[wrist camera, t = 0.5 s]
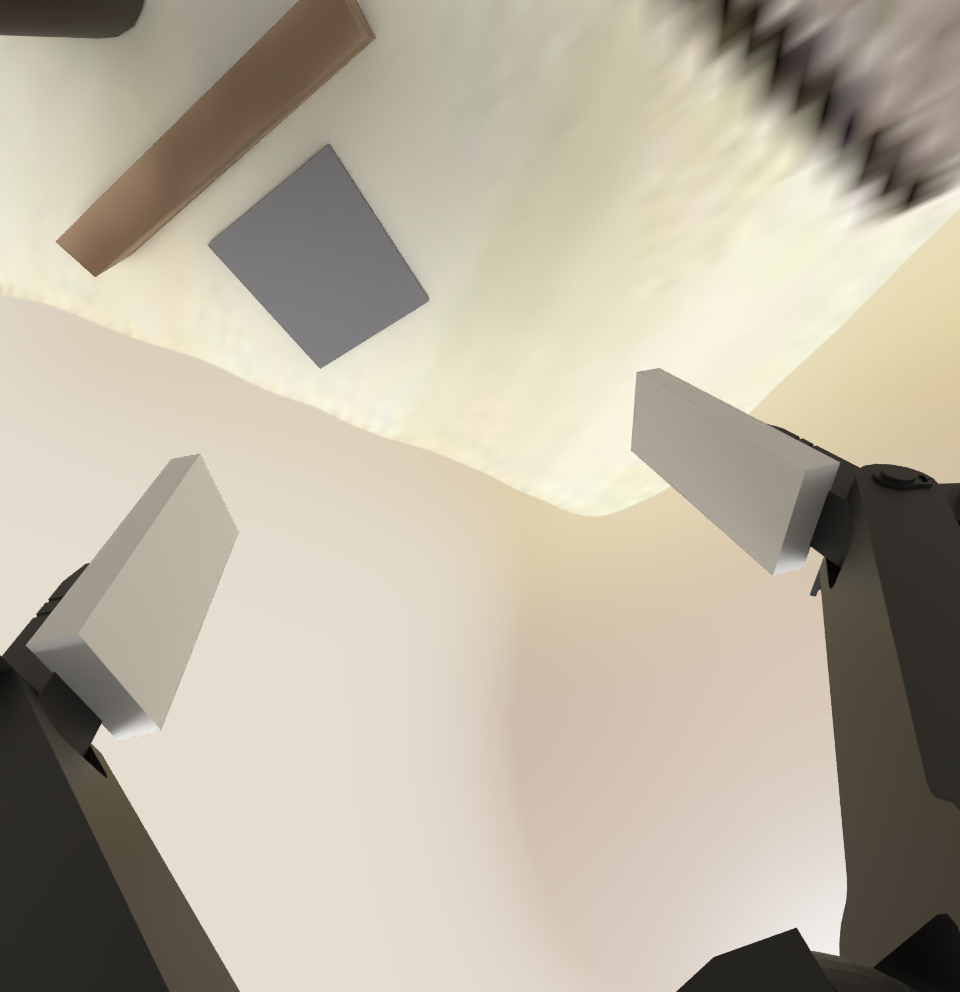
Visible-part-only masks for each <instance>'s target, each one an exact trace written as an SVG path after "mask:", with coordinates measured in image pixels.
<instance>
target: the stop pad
mask: <svg viewBox="0 0 960 992" xmlns="http://www.w3.org/2000/svg"><path fill="white" fill-rule="evenodd" d="M208 246H209V247H210V248H211V249H212V251H213V252H214V253H215V254H216V255H217V256H218V257H219V258H220V259H221V260H222V262H223V263H224V264H225V265H226V266H227V267H228V268H229V269H230V270H231V271H232V272H233V274H234V275H235V276H236V277H237V278H238V279H239V280H240V281H241V282H242V283H243V285H244V286H245V287H246V288H247V289H248V290H249V291H250V292H251V293H252V294H253V296H254V297H255V298H256V299H257V300H258V301H259V302H260V303H261V304H262V305H263V307H264V308H265V309H266V310H267V311H268V312H269V313H270V314H271V315H272V316H273V318H274V319H275V320H276V321H277V322H278V323H279V324H280V325H281V326H282V327H283V329H284V330H285V331H286V332H287V333H288V334H289V335H290V336H291V337H292V338H293V340H294V341H295V342H296V343H297V344H298V345H299V346H300V347H301V348H302V349H303V350H304V352H305V353H306V354H307V355H308V356H309V357H310V358H311V359H312V360H313V361H314V363H315V364H316V365H317V366H318V367H319V368H320V369H321V368H322V367H324V366H325V365H327V364H329V363H330V362H332V361H333V360H335V359H337V358H338V357H340V356H341V355H343V354H345V353H346V352H348V351H349V350H351V349H353V348H354V347H356V346H358V345H359V344H361V343H362V342H364V341H366V340H367V339H369V338H370V337H372V336H374V335H375V334H377V333H378V332H380V331H382V330H383V329H385V328H386V327H388V326H390V325H391V324H393V323H394V322H396V321H398V320H399V319H401V318H402V317H404V316H406V315H407V314H409V313H411V312H412V311H414V310H415V309H417V308H419V307H420V306H422V305H423V304H425V303H427V302H428V301H429V297H428V296H427V294H426V293H425V291H424V289H423V288H422V286H421V285H420V283H419V282H418V280H417V279H416V277H415V276H414V274H413V272H412V271H411V269H410V268H409V266H408V265H407V263H406V262H405V260H404V259H403V257H402V256H401V254H400V252H399V251H398V249H397V248H396V246H395V245H394V243H393V242H392V240H391V239H390V237H389V235H388V234H387V232H386V231H385V229H384V228H383V226H382V225H381V223H380V222H379V220H378V218H377V217H376V215H375V214H374V212H373V211H372V209H371V208H370V206H369V205H368V203H367V201H366V200H365V198H364V197H363V195H362V194H361V192H360V191H359V189H358V188H357V186H356V184H355V183H354V181H353V180H352V178H351V177H350V175H349V174H348V172H347V171H346V169H345V167H344V166H343V164H342V163H341V161H340V160H339V158H338V157H337V155H336V154H335V152H334V151H333V149H332V147H331V146H330V144H329V145H328V146H327V147H325V148H324V149H323V150H322V151H321V152H319V153H318V154H317V155H316V156H315V157H313V158H312V159H311V160H310V161H309V162H307V163H306V164H305V165H304V166H302V167H301V168H300V169H299V170H298V171H296V172H295V173H294V174H293V175H292V176H290V177H289V178H288V179H287V180H286V181H284V182H283V183H282V184H281V185H279V186H278V187H277V188H276V189H275V190H273V191H272V192H271V193H270V194H269V195H267V196H266V197H265V198H264V199H263V200H261V201H260V202H259V203H258V204H257V205H255V206H254V207H253V208H252V209H250V210H249V211H248V212H247V213H246V214H244V215H243V216H242V217H241V218H240V219H238V220H237V221H236V222H235V223H234V224H232V225H231V226H230V227H229V228H227V229H226V230H225V231H224V232H223V233H221V234H220V235H219V236H218V237H217V238H215V239H214V240H213V241H212V242H211V243H209V244H208Z"/></svg>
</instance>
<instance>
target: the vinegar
mask: <svg viewBox="0 0 960 992" xmlns="http://www.w3.org/2000/svg"><path fill="white" fill-rule="evenodd" d="M141 8H142V0H0V35H13V36H42V37H72V38H107V37H117V36H119V35H120V34H122V33H123V32H124V31H126V30H127V29H129V28H130V27H131V26H133V24H134V22H135V20H136V18H137V16H138V14H139V12H140V10H141Z"/></svg>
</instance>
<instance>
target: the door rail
mask: <svg viewBox="0 0 960 992" xmlns="http://www.w3.org/2000/svg"><path fill="white" fill-rule="evenodd" d="M375 38H376V37H375V36H374V34H373V32H372V30H371V28H370V26H369V24H368V22H367V20H366V18H365V16H364V14H363V13H362V11H361V9H360V7H359V5H358V3H357V1H356V0H300V1H299V2H298V3H297V4H296V5H295V6H294V7H293V8H292V9H291V10H290V11H288V12H287V13H286V14H285V15H284V16H283V17H282V18H281V19H280V20H279V21H278V22H277V23H276V24H275V25H274V26H273V27H272V28H271V29H270V30H269V31H268V32H267V33H266V34H265V35H264V36H263V37H262V38H261V39H260V40H259V41H258V42H257V43H256V44H255V45H254V46H253V47H252V48H251V49H250V50H249V51H248V52H247V53H246V54H245V55H244V56H243V57H242V58H241V59H240V60H239V61H238V62H237V63H236V64H235V65H234V66H233V67H232V68H231V69H230V70H229V71H228V72H227V73H226V74H225V75H224V76H223V77H222V78H221V79H220V80H219V81H218V82H217V83H216V84H215V85H214V86H213V87H212V88H211V89H210V90H209V91H208V92H206V93H205V94H204V95H203V96H202V97H201V98H200V99H199V100H198V101H197V102H196V103H195V104H194V105H193V106H192V107H191V108H190V109H189V110H188V111H187V112H186V113H185V114H184V115H183V116H182V117H181V118H180V119H179V120H178V121H177V122H176V123H175V124H174V125H173V126H172V127H171V128H170V129H169V130H168V131H167V132H166V133H165V134H164V135H163V136H162V137H161V138H160V139H159V140H158V141H157V142H156V143H155V144H154V145H153V146H152V147H151V148H150V149H149V150H148V151H147V152H146V153H145V154H144V155H143V156H142V157H141V158H140V159H139V160H138V161H137V162H136V163H135V164H134V165H133V166H132V167H131V168H130V169H129V170H128V171H127V172H125V173H124V174H123V175H122V176H121V177H120V178H119V179H118V180H117V181H116V182H115V183H114V184H113V185H112V186H111V187H110V188H109V189H108V190H107V191H106V192H105V193H104V194H103V195H102V196H101V197H100V198H99V199H98V200H97V201H96V202H95V203H94V204H93V205H92V206H91V207H90V208H89V209H88V210H87V211H86V212H85V213H84V214H83V215H82V216H81V217H80V218H79V219H78V220H77V221H76V222H75V223H74V224H73V225H72V226H71V227H70V228H69V229H68V230H67V231H66V232H65V233H64V234H63V235H62V236H61V237H60V238H59V239H58V240H57V241H56V243H58V244H59V245H60V246H61V247H62V248H63V249H64V250H65V251H66V252H68V253H69V254H70V255H71V256H72V257H73V258H74V259H75V260H77V261H78V262H79V263H80V264H81V265H82V266H83V267H84V268H85V269H87V270H88V271H89V272H90V273H91V274H92V275H93V276H94V277H96V276H98V275H99V274H101V273H103V272H104V271H106V270H108V269H109V268H111V267H112V266H114V265H116V264H117V263H119V262H120V261H122V260H124V259H125V258H127V257H128V256H130V255H131V254H133V253H134V252H135V251H136V250H137V249H138V248H139V247H140V246H142V245H143V244H144V243H145V242H146V241H147V240H148V239H149V238H151V237H152V236H153V235H154V234H155V233H156V232H157V231H159V230H160V229H161V228H162V227H163V226H164V225H165V224H166V223H168V222H169V221H170V220H171V219H172V218H173V217H174V216H175V215H177V214H178V213H179V212H180V211H181V210H182V209H183V208H184V207H186V206H187V205H188V204H189V203H190V202H191V201H192V200H193V199H195V198H196V197H197V196H198V195H199V194H200V193H201V192H202V191H204V190H205V189H206V188H207V187H208V186H209V185H210V184H211V183H213V182H214V181H215V180H216V179H217V178H218V177H219V176H220V175H222V174H223V173H224V172H225V171H226V170H227V169H228V168H230V167H231V166H232V165H233V164H234V163H235V162H236V161H237V160H239V159H240V158H241V157H242V156H243V155H244V154H245V153H246V152H248V151H249V150H250V149H251V148H252V147H253V146H254V145H255V144H257V143H258V142H259V141H260V140H261V139H262V138H263V137H264V136H266V135H267V134H268V133H269V132H270V131H271V130H272V129H273V128H275V127H276V126H277V125H278V124H279V123H280V122H281V121H282V120H284V119H285V118H286V117H287V116H288V115H289V114H290V113H291V112H293V111H294V110H295V109H296V108H297V107H298V106H299V105H301V104H302V103H303V102H304V101H305V100H306V99H307V98H308V97H310V96H311V95H312V94H313V93H314V92H315V91H316V90H317V89H319V88H320V87H321V86H322V85H323V84H324V83H325V82H326V81H328V80H329V79H330V78H331V77H332V76H333V75H334V74H335V73H337V72H338V71H339V70H340V69H341V68H342V67H343V66H344V65H346V64H347V63H348V62H349V61H350V60H351V59H352V58H353V57H355V56H356V55H357V54H358V53H359V52H360V51H361V50H362V49H364V48H365V47H366V46H367V45H368V44H369V43H370V42H372V41H373V40H374V39H375Z"/></svg>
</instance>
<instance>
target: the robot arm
mask: <svg viewBox="0 0 960 992" xmlns="http://www.w3.org/2000/svg"><path fill="white" fill-rule="evenodd" d="M631 451H632V452H633V453H635V454H636V455H637V456H638V457H639V458H640V459H641V460H642V461H644V462H645V463H646V464H647V465H648V466H649V467H650V468H651V469H653V470H654V471H655V472H656V473H657V474H658V475H659V476H661V477H662V478H663V479H664V480H665V481H666V482H667V483H668V484H670V485H671V486H672V487H673V488H674V489H675V490H676V491H677V492H679V493H680V494H681V495H682V496H683V497H684V498H686V499H687V500H688V501H689V502H690V503H691V504H692V505H693V506H695V507H696V508H697V509H698V510H699V511H700V512H701V513H702V514H704V515H705V516H706V517H707V518H708V519H709V520H710V521H711V522H713V523H714V524H715V525H716V526H717V527H718V528H719V529H721V530H722V531H723V532H724V533H725V534H726V535H727V536H729V537H730V538H731V539H732V540H733V541H734V542H735V543H736V544H737V545H739V546H740V547H741V548H742V549H743V550H744V551H745V552H746V553H748V554H749V555H750V556H751V557H752V558H753V559H754V560H755V561H757V562H758V563H759V564H760V565H761V566H762V567H763V568H765V569H766V570H767V571H768V572H769V573H770V574H771V575H773V576H774V575H778V574H782V573H786V572H790V571H794V570H798V569H802V568H803V567H804V564H805V561H806V558H807V555H808V552H809V550H810V547H812V548H814V549H815V550H816V551H818V552H819V553H820V554H822V555H823V556H824V558H823V561H822V564H821V566H820V569H819V572H818V574H817V577H816V580H815V582H814V585H813V587H812V590H811V593H810V595H811V596H816V595H817V592H818V590H820V589H821V593H822V605H823V615H824V626H825V638H826V649H827V661H828V672H829V682H830V694H831V705H832V716H833V728H834V738H835V750H836V761H837V772H838V782H839V794H840V805H841V817H842V827H843V838H844V849H845V860H846V872H847V898H846V904H845V909H844V913H843V918H842V922H841V931H840V943H839V946H840V956H835V955H830V954H826V953H821V952H815V951H810V949H809V947H808V946H807V944H806V942H805V941H804V939H803V938H802V936H801V934H800V932H799V931H798V929H797V928H794V929H791V930H789V931H786V932H783V933H780V934H777V935H775V936H772V937H769V938H766V939H763V940H761V941H758V942H755V943H752V944H749V945H747V946H744V947H741V948H738V949H735V950H732V951H730V952H727V953H724V954H721V955H719V956H716V957H713V958H712V959H711V960H710V961H709V962H708V963H707V964H706V965H705V966H704V967H703V968H701V969H700V970H699V971H698V972H697V973H696V974H695V975H694V976H693V977H692V978H691V979H690V980H688V981H687V982H686V983H685V984H684V985H683V986H682V987H681V988H680V989H679V990H678V991H677V992H960V483H950V484H938V483H937V482H936V481H935V480H934V479H933V478H931V477H930V476H928V475H926V474H924V473H922V472H919V471H916V470H913V469H910V468H907V467H902V466H896V465H889V464H873V465H866V466H863V467H861V468H859V467H857V466H855V465H853V464H851V463H850V462H848V461H846V460H844V459H842V458H840V457H838V456H836V455H834V454H832V453H830V452H828V451H826V450H824V449H822V448H820V447H818V446H813V444H812V443H810V442H808V441H807V440H805V439H800V438H799V436H797V435H795V434H793V433H791V432H789V431H787V430H785V429H783V428H780V427H776V426H773V425H769V424H766V423H764V422H762V421H760V420H758V419H756V418H754V417H752V416H750V415H748V414H746V413H744V412H742V411H741V410H739V409H737V408H735V407H733V406H731V405H729V404H727V403H725V402H723V401H721V400H719V399H718V398H716V397H714V396H712V395H710V394H708V393H706V392H704V391H702V390H700V389H698V388H696V387H695V386H693V385H691V384H689V383H687V382H685V381H683V380H681V379H679V378H677V377H675V376H673V375H672V374H670V373H668V372H666V371H664V370H662V369H660V368H657V369H652V370H646V371H641V372H637V375H636V389H635V403H634V416H633V430H632V443H631ZM238 532H239V531H238V529H237V527H236V525H235V523H234V521H233V519H232V517H231V515H230V513H229V511H228V509H227V507H226V505H225V503H224V501H223V499H222V497H221V495H220V493H219V491H218V489H217V487H216V485H215V483H214V481H213V479H212V477H211V475H210V473H209V471H208V469H207V467H206V465H205V463H204V461H203V458H202V456H201V454H196V455H191V456H185V457H180V458H175V459H171V460H170V462H169V463H168V464H167V465H166V467H165V468H164V469H163V470H162V472H161V473H160V474H159V476H158V477H157V478H156V479H155V481H154V482H153V483H152V485H151V486H150V487H149V488H148V490H147V491H146V492H145V493H144V495H143V496H142V497H141V499H140V500H139V501H138V502H137V504H136V505H135V506H134V508H133V509H132V510H131V511H130V513H129V514H128V515H127V517H126V518H125V519H124V520H123V522H122V523H121V524H120V526H119V527H118V528H117V529H116V531H115V532H114V533H113V534H112V536H111V537H110V538H109V540H108V541H107V542H106V544H105V545H104V546H103V547H102V549H101V550H100V551H99V552H98V554H97V555H96V556H95V558H94V559H93V560H92V561H91V563H88V564H85V565H84V566H82V567H81V568H80V569H79V570H77V571H76V572H75V573H73V574H72V575H71V576H69V577H68V578H67V579H66V580H64V581H63V582H62V583H61V585H60V586H59V587H58V588H57V590H56V591H55V592H54V593H53V594H52V595H51V597H50V598H49V602H48V603H45V604H44V606H43V607H42V608H41V609H40V610H39V611H38V613H37V614H36V615H37V617H36V618H33V619H32V620H31V621H30V623H29V624H28V625H27V626H26V627H25V629H24V630H23V631H22V632H21V634H20V635H19V636H18V637H17V638H16V640H15V641H14V642H13V643H12V645H11V646H10V647H9V648H8V649H7V651H6V652H5V653H4V654H3V656H2V657H1V656H0V992H240V991H239V989H238V988H237V986H236V984H235V982H234V981H233V979H232V978H231V976H230V974H229V972H228V970H227V969H226V967H225V965H224V964H223V962H222V960H221V958H220V957H219V955H218V953H217V952H216V950H215V948H214V946H213V945H212V943H211V941H210V939H209V938H208V936H207V935H206V933H205V931H204V929H203V928H202V926H201V924H200V922H199V921H198V919H197V917H196V915H195V914H194V912H193V910H192V909H191V907H190V905H189V903H188V902H187V900H186V898H185V896H184V895H183V893H182V891H181V890H180V888H179V886H178V884H177V883H176V881H175V879H174V878H173V876H172V874H171V873H170V871H169V869H168V867H167V866H166V864H165V862H164V860H163V859H162V857H161V855H160V853H159V852H158V850H157V848H156V847H155V845H154V843H153V841H152V840H151V838H150V836H149V835H148V833H147V831H146V830H145V828H144V826H143V824H142V823H141V821H140V819H139V817H138V816H137V814H136V812H135V811H134V809H133V807H132V805H131V804H130V802H129V800H128V798H127V797H126V795H125V793H124V792H123V790H122V788H121V786H120V785H119V783H118V781H117V780H116V778H115V776H114V775H113V773H112V771H111V769H110V768H109V766H108V764H107V762H106V761H105V759H104V757H103V756H102V754H101V753H100V752H99V751H98V750H97V749H96V748H95V747H94V746H93V745H92V744H91V742H92V740H93V738H94V736H95V735H96V733H97V731H98V729H99V727H100V725H101V723H102V724H103V725H104V727H105V728H107V730H108V731H109V732H110V733H111V734H112V735H113V736H114V737H115V738H116V739H117V740H118V741H121V740H125V739H129V738H133V737H137V736H141V735H145V734H149V733H152V732H156V731H161V729H162V727H163V724H164V721H165V719H166V716H167V714H168V711H169V709H170V706H171V704H172V701H173V698H174V696H175V693H176V691H177V688H178V686H179V683H180V680H181V678H182V676H183V673H184V670H185V668H186V665H187V663H188V660H189V658H190V655H191V653H192V650H193V647H194V645H195V642H196V640H197V637H198V635H199V632H200V630H201V627H202V624H203V622H204V619H205V617H206V614H207V612H208V609H209V607H210V604H211V602H212V599H213V596H214V594H215V591H216V589H217V586H218V584H219V581H220V579H221V576H222V573H223V571H224V568H225V566H226V563H227V560H228V558H229V556H230V553H231V550H232V548H233V545H234V543H235V540H236V538H237V535H238Z"/></svg>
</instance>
